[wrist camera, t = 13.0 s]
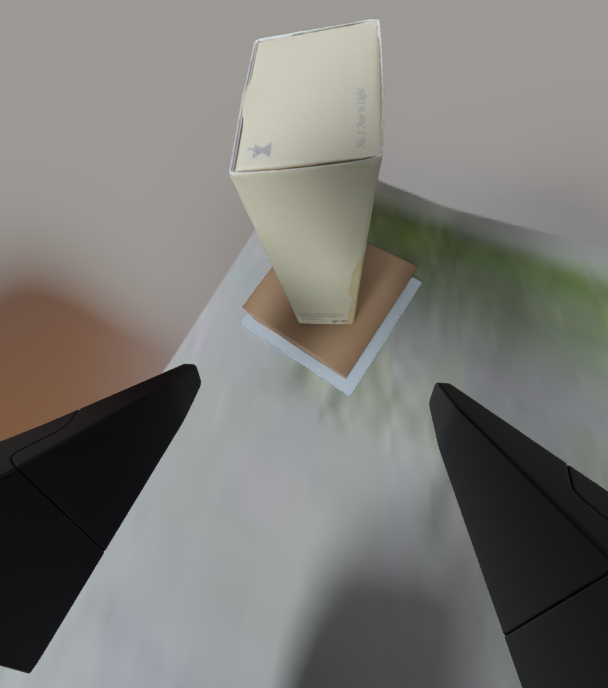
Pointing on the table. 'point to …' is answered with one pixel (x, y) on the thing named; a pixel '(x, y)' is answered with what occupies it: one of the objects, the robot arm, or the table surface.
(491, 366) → the table surface
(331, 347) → the walnut plinth
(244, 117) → the skincare box
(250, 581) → the table surface
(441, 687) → the table surface
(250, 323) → the plan sheet
